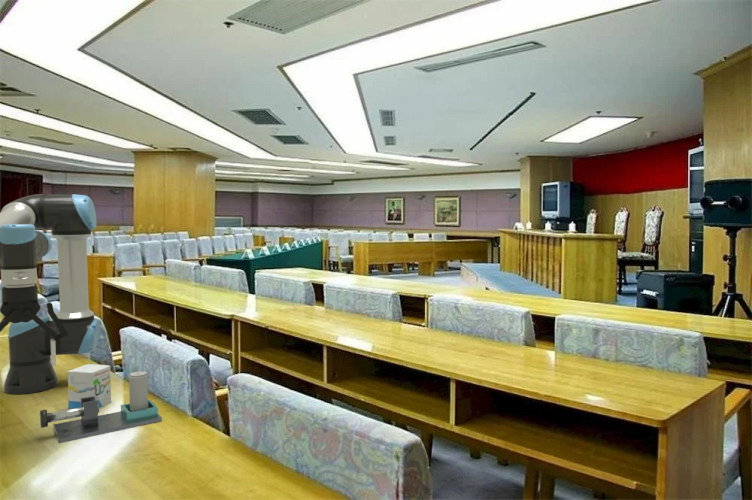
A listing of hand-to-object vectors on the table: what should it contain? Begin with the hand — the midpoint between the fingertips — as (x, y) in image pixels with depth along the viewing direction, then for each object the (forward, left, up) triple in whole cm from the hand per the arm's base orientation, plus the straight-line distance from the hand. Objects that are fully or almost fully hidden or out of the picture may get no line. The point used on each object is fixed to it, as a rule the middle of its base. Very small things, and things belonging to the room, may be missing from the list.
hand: (22, 369), depth 137 cm
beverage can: (0, +27, -18) cm, 33 cm away
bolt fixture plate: (0, +19, -19) cm, 27 cm away
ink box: (-20, +18, -19) cm, 33 cm away
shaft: (0, +10, -16) cm, 19 cm away
